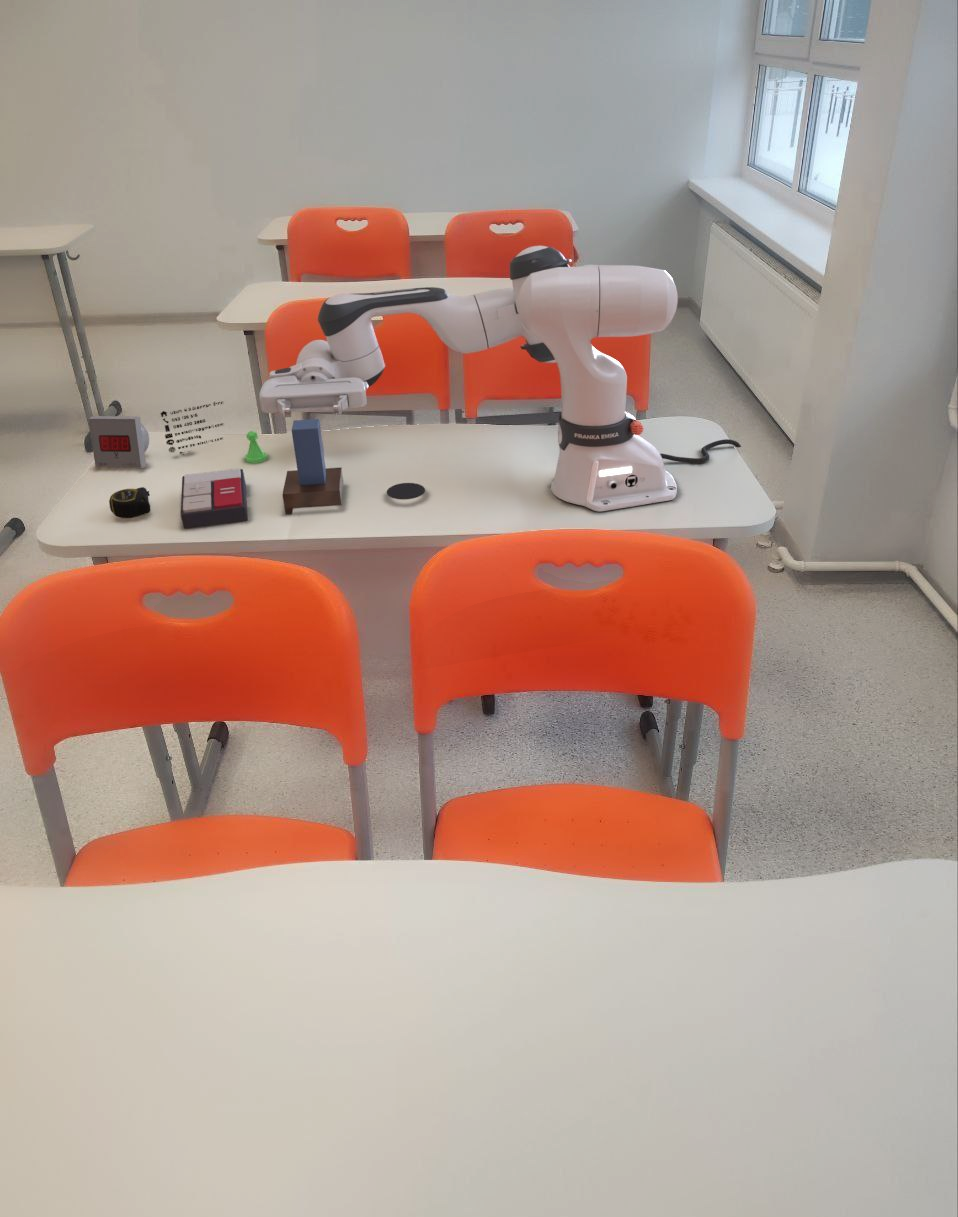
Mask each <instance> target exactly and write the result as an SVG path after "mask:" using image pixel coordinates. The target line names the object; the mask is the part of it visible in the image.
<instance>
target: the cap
mask: <svg viewBox="0 0 958 1217" xmlns="http://www.w3.org/2000/svg"><path fill="white" fill-rule="evenodd" d="M425 492H426V488H425V487H424V486H423V485H421V484H419V483H415V482H401V483H396V484H394V485H392V486H390V487H389V488H388V489H387V490H386V495H387V496H388V497H390V498H391V499H395V500H403V501H405V500H412V499H416V498H419V497H421V496H422V495H424V494H425Z"/></svg>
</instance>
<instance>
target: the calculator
mask: <svg viewBox="0 0 958 1217" xmlns="http://www.w3.org/2000/svg"><path fill="white" fill-rule="evenodd" d="M246 483H247V482H246V479H245V472H244V469H242V468H231V469H223V470H214V471H206V472H196V473H189V474H188V473H187V474H184V475H182V477H181V498H180V519H181V522H182V526H183V529H185V530H188V529H197V528H203V527H204V528H205V527H212V526H219V525H220V526H221V525H226V524H234V523H242V522H247V521H249V515H248V501H247V500H248V499H247V484H246Z"/></svg>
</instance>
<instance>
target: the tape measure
mask: <svg viewBox="0 0 958 1217" xmlns="http://www.w3.org/2000/svg"><path fill="white" fill-rule="evenodd" d="M150 495H151V494H150V490H147V488H146V487H144V486H141V487H137V488H124V489H120V490H117V491H115V492H113V493H112V494H111V496H110V497H109V500H108V503H109V509H110V511H111V513H112V514H113V515H114V516H115V517H117V518H120V519H133V518H134V519H135V518H137V517H140V516H145V515H148V514H149V513H150V512H151V505H150V500H149V497H150Z"/></svg>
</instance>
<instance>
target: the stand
mask: <svg viewBox="0 0 958 1217" xmlns="http://www.w3.org/2000/svg"><path fill="white" fill-rule="evenodd" d="M343 474H344V473H343V467H342V466H341V467H327V468H326V480H325V484H315V485H300V484H299V478H298V471H297V469H294V470H286V474H285V479H284V485H283V490H282V494H281V495H282V500H283V506H284V514H285V515H293V512H294V509H303V508H304V509H305V508H317V507H330V506H332V507H333V506H342V502H343V491H344V475H343Z"/></svg>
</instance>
